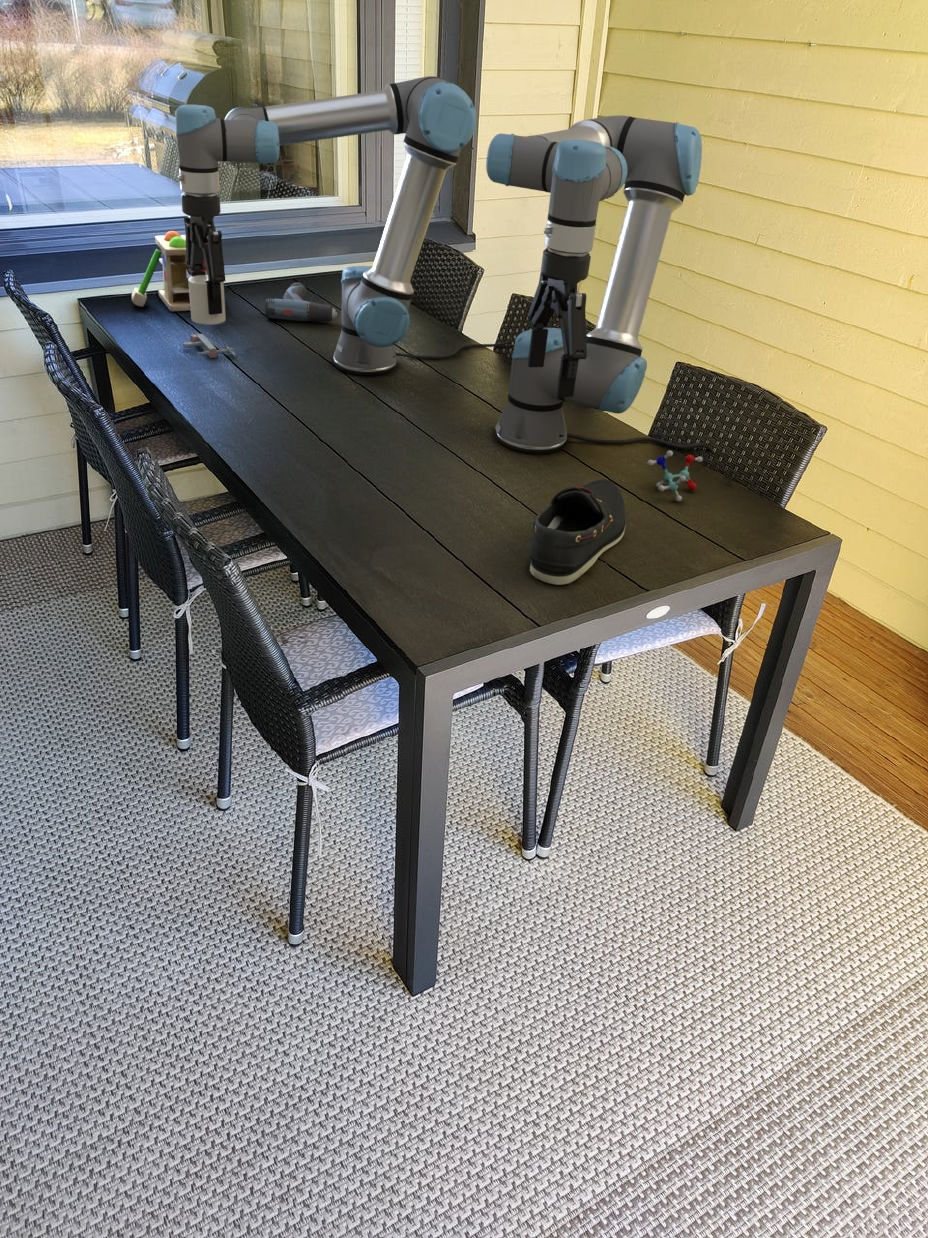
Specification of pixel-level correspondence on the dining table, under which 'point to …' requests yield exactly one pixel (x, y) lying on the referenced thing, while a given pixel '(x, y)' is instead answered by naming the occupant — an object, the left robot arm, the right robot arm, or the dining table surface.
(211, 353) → the clamp
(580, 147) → the right robot arm
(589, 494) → the boat shoe
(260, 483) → the dining table surface
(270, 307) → the power drill
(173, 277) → the pounding bench toy
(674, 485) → the molecular model
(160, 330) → the dining table surface
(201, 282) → the can
